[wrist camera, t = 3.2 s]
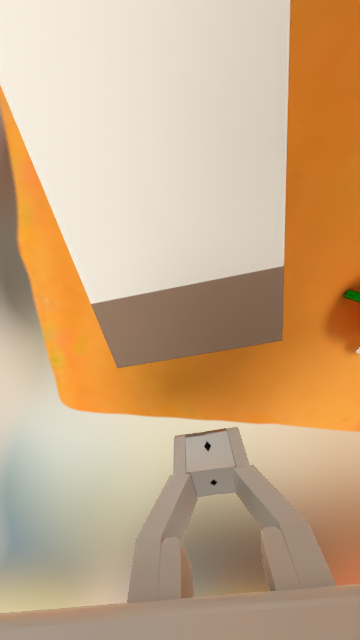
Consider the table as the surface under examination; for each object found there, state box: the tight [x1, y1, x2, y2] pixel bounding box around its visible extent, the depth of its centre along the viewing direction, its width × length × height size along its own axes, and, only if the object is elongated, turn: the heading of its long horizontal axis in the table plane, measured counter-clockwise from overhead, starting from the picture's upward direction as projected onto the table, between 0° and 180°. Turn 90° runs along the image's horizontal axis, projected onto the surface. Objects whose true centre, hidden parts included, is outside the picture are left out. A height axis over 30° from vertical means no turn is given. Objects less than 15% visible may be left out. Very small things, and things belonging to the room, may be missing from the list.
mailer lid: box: [0, 0, 290, 368], centre depth 15 cm, size 30×17×3 cm, turn 11°
